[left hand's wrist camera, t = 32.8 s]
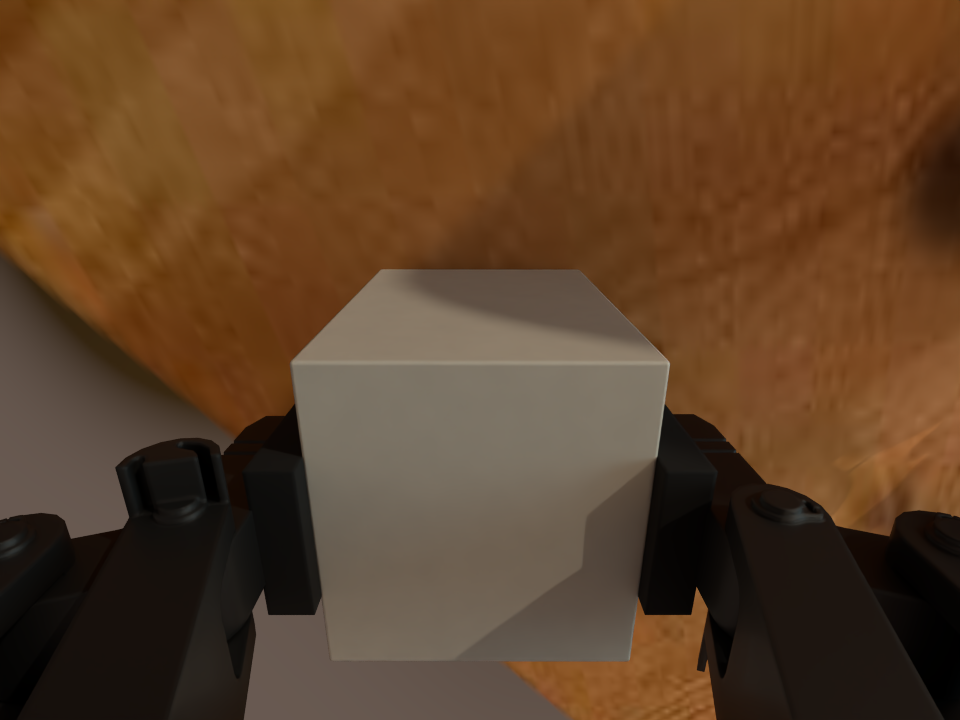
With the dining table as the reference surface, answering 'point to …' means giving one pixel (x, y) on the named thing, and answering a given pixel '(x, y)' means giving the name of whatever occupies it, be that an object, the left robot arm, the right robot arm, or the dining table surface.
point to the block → (479, 467)
